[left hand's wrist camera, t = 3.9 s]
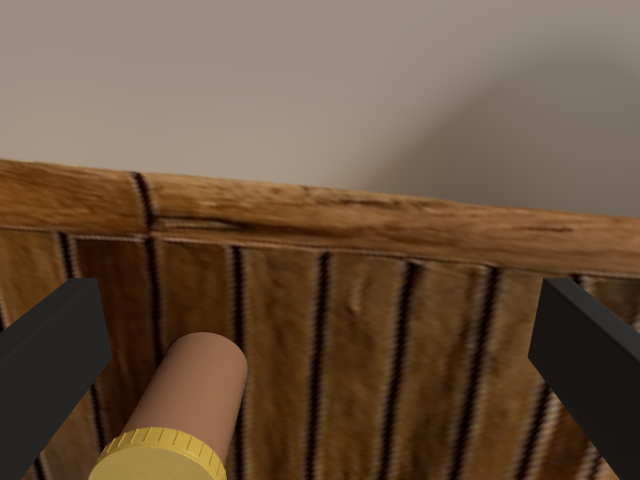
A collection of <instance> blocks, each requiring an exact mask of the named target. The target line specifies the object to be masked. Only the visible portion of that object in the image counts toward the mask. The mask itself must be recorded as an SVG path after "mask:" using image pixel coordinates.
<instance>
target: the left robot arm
mask: <svg viewBox="0 0 640 480" xmlns="http://www.w3.org/2000/svg"><path fill="white" fill-rule="evenodd" d="M111 358H112V353H111V348H110V343H109V338H108V333H107V328H106V323H105V318H104V313H103V308H102V303H101V298H100V293H99V288H98V283H97V278H70V279H69V280H68V281H66V282H65V283H64V284H62V285H61V286H60V287H59V288H57V289H56V290H55V291H54V292H52V293H51V294H50V295H48V296H47V297H46V298H45V299H43V300H42V301H41V302H40V303H38V304H37V305H36V306H34V307H33V308H32V309H31V310H29V311H28V312H27V313H26V314H24V315H23V316H22V317H20V318H19V319H18V320H17V321H15V322H14V323H13V324H12V325H10V326H9V327H8V328H6V329H5V330H4V331H3V332H1V333H0V480H20V479H21V478H22V476H23V475H24V474H25V472H26V471H27V470H28V468H29V467H30V466H31V464H32V463H33V462H34V460H35V459H36V458H37V457H38V455H39V454H40V453H41V451H42V450H43V449H44V447H45V446H46V445H47V443H48V442H49V441H50V439H51V438H52V437H53V435H54V434H55V433H56V431H57V430H58V429H59V427H60V426H61V425H62V423H63V422H64V421H65V419H66V418H67V417H68V415H69V414H70V413H71V411H72V410H73V409H74V407H75V406H76V405H77V404H78V402H79V401H80V400H81V398H82V397H83V396H84V394H85V393H86V392H87V390H88V389H89V388H90V386H91V385H92V384H93V382H94V381H95V380H96V378H97V377H98V376H99V374H100V373H101V372H102V370H103V369H104V368H105V366H106V365H107V364H108V362H109V361H110V360H111ZM528 358H529V360H530V361H531V362H532V364H533V365H534V366H535V368H536V369H537V370H538V372H539V373H540V374H541V376H542V377H543V378H544V380H545V381H546V382H547V384H548V385H549V386H550V388H551V389H552V390H553V392H554V393H555V394H556V396H557V397H558V398H559V400H560V401H561V402H562V404H563V405H564V406H565V407H566V409H567V410H568V411H569V413H570V414H571V415H572V417H573V418H574V419H575V421H576V422H577V423H578V425H579V426H580V427H581V429H582V430H583V431H584V433H585V434H586V435H587V437H588V438H589V439H590V441H591V442H592V443H593V445H594V446H595V447H596V449H597V450H598V451H599V453H600V454H601V455H602V457H603V458H604V459H605V460H606V462H607V463H608V464H609V466H610V467H611V468H612V470H613V471H614V472H615V474H616V475H617V476H618V478H619V479H620V480H640V333H639V332H637V331H636V330H635V329H634V328H632V327H631V326H630V325H628V324H627V323H626V322H625V321H623V320H622V319H621V318H620V317H618V316H617V315H616V314H614V313H613V312H612V311H611V310H609V309H608V308H607V307H606V306H604V305H603V304H602V303H600V302H599V301H598V300H597V299H595V298H594V297H593V296H592V295H590V294H589V293H588V292H586V291H585V290H584V289H583V288H581V287H580V286H579V285H578V284H576V283H575V282H574V281H572V280H571V279H570V278H543V283H542V288H541V293H540V298H539V303H538V308H537V313H536V318H535V323H534V328H533V333H532V338H531V343H530V348H529V353H528Z"/></svg>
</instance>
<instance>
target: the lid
mask: <svg viewBox="0 0 640 480" xmlns="http://www.w3.org/2000/svg"><path fill="white" fill-rule="evenodd" d="M88 480H226V470H225V469H224V466H223V464H222V462H221V460H220V458H219V457H218V456H217V454H216V453H215V451H213V450H212V449H211V448H210V447H209V446H208V445H206V444H205V443H204V442H202V441H201V440H199V439H198V438H196V437H194V436H192V435H190V434H187V433H185V432H182V431H179V430H175V429H170V428H162V427H147V428H140V429H136V430H132V431H129V432H127V433H126V432H125V433H124V434H122V435H121V436H119V437H117V438H116V439H115V438H114V439H113V441H112V442H111V443H110V444H109V445H108V446H106V447H105V448H104V450H103V452H102V453H101V455H100V456H99V458H98V460H97V461H96V463H95V465H94V466H93V468H92V472H91V474H90V476H89V479H88Z"/></svg>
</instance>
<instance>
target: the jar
mask: <svg viewBox="0 0 640 480" xmlns="http://www.w3.org/2000/svg"><path fill="white" fill-rule="evenodd" d="M247 375H248V365H247V361H246V358H245V356H244V354H243V353H242V351H241V350H240V349H239V347H238V346H237V345H236V344H234V343H233V342H232V341H230V340H229V339H227V338H225V337H223V336H221V335H218V334H214V333H209V332H197V333H191V334H188V335H185V336H183V337H181V338H179V339H178V340H176V341H175V342H174V343H173V344H172V345H171V346H170V348H169V349H168V351H167V353H166V354H165V356H164V358H163V360H162V361H161V363H160V365H159V367H158V369H157V370H156V372H155V374H154V376H153V377H152V379H151V381H150V383H149V384H148V386H147V388H146V390H145V391H144V393H143V395H142V397H141V399H140V400H139V402H138V404H137V406H136V407H135V409H134V411H133V413H132V414H131V416H130V418H129V420H128V421H127V423H126V425H125V427H124V428H123V430H122V432H121V434H120V436H121V435H122V434H124V433H125V432H126V433H127V432H129V431H132V430H136V429H140V428H147V427H162V428H170V429H175V430H179V431H182V432H185V433H187V434H190V435H192V436H194V437H196V438H198V439H199V440H201V441H202V442H204V443H205V444H206V445H208V446H209V447H210V448H211V449H212V450H213V451H215V453H216V454H217V456H218V457H219V458H220V460H221V462H222V464H223V466H224V468H225V464H226V460H227V456H228V452H229V448H230V444H231V440H232V436H233V432H234V428H235V424H236V420H237V416H238V412H239V408H240V404H241V400H242V396H243V392H244V388H245V384H246V379H247Z"/></svg>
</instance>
